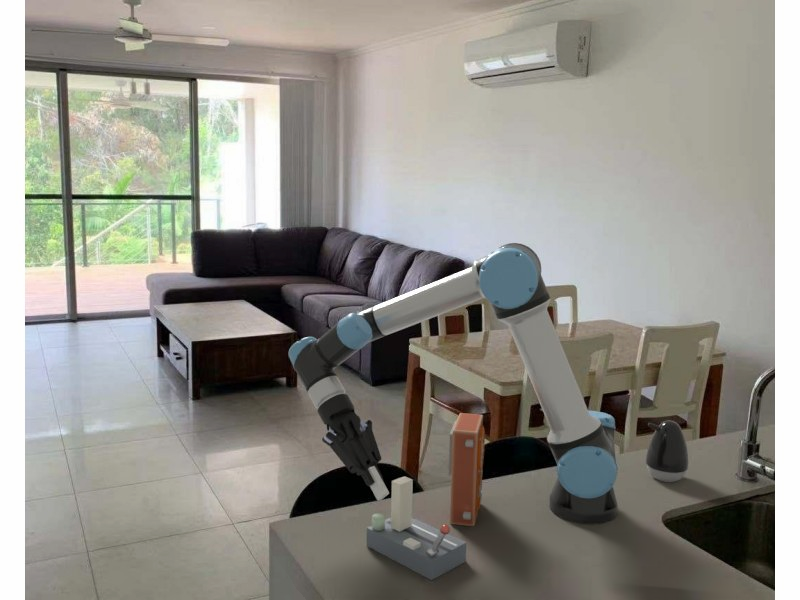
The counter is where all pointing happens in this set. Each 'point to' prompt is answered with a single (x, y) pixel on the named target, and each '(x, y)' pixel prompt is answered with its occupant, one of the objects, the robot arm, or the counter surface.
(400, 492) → the cream rectangular block
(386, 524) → the switch console
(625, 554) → the counter surface
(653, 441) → the pump dispenser
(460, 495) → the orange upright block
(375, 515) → the push button
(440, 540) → the toggle lever
